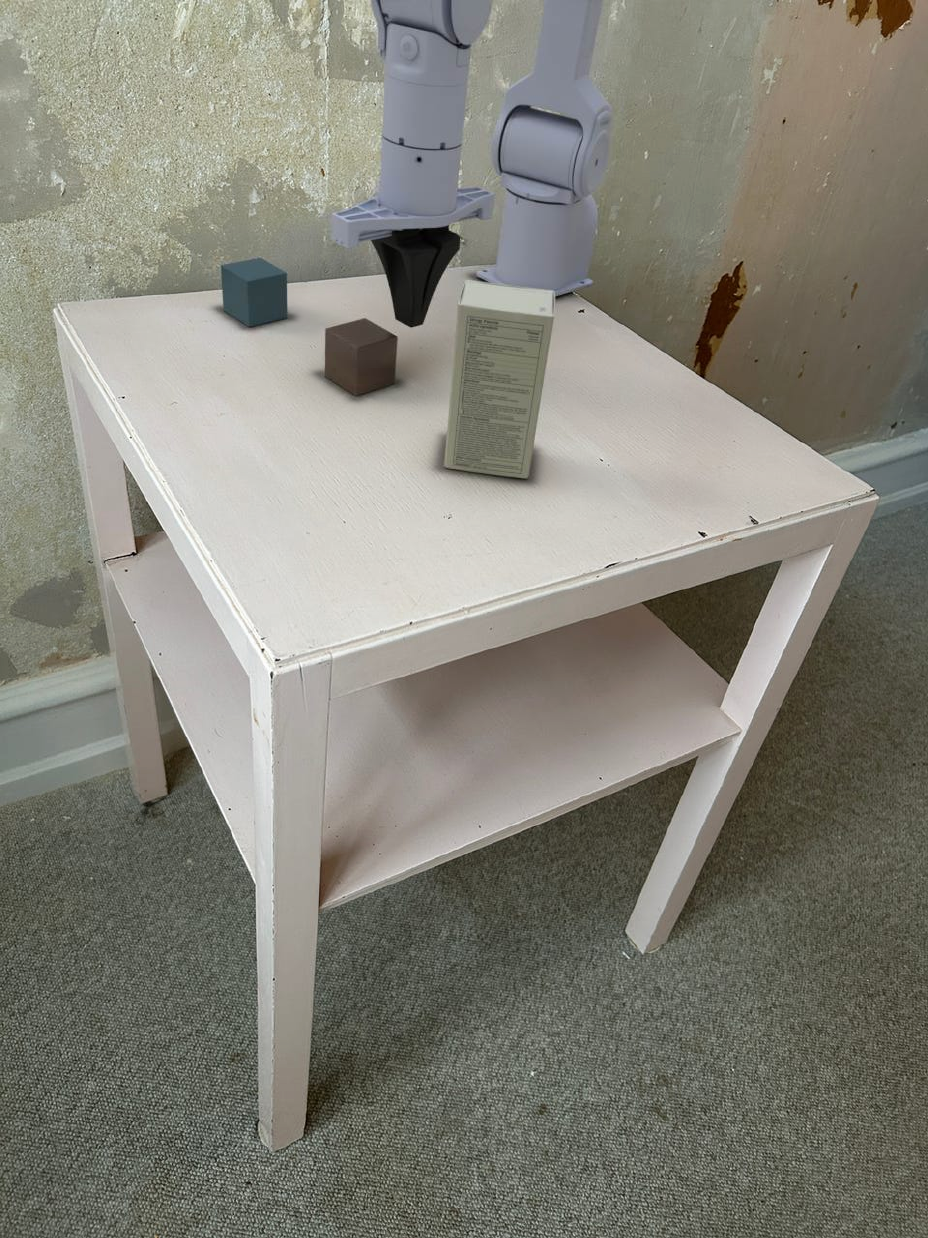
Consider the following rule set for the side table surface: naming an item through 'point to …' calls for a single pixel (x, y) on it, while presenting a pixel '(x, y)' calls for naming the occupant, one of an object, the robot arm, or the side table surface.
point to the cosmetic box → (497, 377)
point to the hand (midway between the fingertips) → (409, 321)
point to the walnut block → (360, 356)
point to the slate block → (254, 291)
